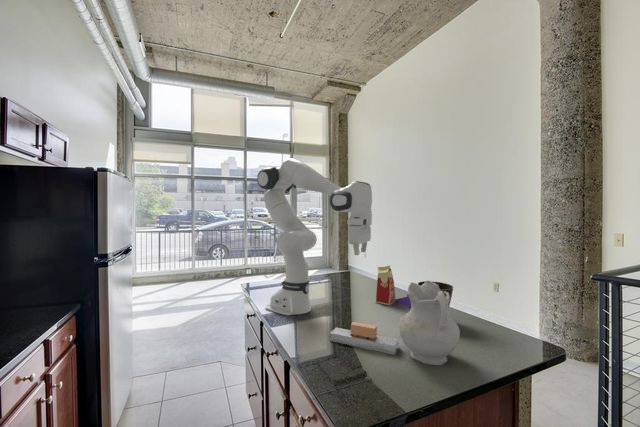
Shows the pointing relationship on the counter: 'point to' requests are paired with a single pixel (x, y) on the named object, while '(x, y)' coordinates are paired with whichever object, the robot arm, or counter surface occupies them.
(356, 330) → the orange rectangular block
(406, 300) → the purple cone
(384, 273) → the red paper bag
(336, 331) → the rail
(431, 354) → the ceramic pitcher
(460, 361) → the counter surface
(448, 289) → the plant pot
